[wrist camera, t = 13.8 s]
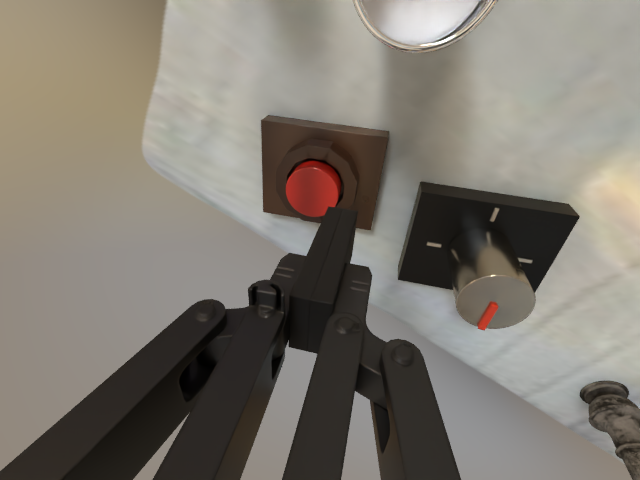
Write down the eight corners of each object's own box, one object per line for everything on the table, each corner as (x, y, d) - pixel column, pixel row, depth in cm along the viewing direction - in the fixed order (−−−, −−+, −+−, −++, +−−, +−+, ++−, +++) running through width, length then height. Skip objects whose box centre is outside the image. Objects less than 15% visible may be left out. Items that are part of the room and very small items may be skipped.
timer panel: (569, 204, 32) (581, 217, 30) (521, 289, 38) (528, 305, 36) (420, 181, 34) (421, 192, 32) (398, 266, 40) (397, 280, 38)
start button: (344, 164, 31) (341, 172, 29) (338, 211, 34) (335, 221, 32) (291, 156, 32) (285, 163, 30) (290, 203, 34) (285, 212, 33)
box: (389, 131, 32) (387, 144, 29) (372, 221, 38) (369, 240, 34) (268, 115, 33) (253, 125, 30) (269, 203, 39) (256, 221, 36)
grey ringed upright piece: (568, 388, 45) (613, 490, 36) (617, 374, 42) (682, 481, 33) (590, 411, 47) (640, 515, 37) (639, 399, 44) (707, 509, 34)
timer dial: (459, 220, 33) (472, 270, 26) (522, 234, 32) (552, 288, 26) (438, 268, 36) (446, 322, 30) (496, 280, 36) (516, 338, 29)
